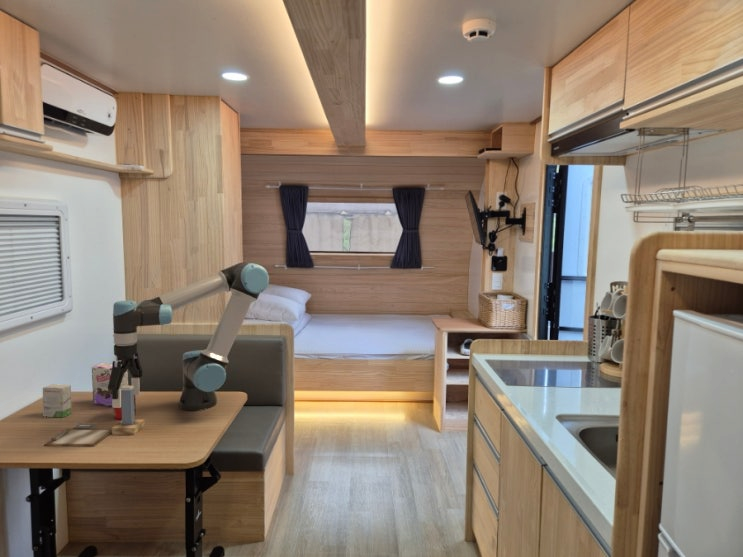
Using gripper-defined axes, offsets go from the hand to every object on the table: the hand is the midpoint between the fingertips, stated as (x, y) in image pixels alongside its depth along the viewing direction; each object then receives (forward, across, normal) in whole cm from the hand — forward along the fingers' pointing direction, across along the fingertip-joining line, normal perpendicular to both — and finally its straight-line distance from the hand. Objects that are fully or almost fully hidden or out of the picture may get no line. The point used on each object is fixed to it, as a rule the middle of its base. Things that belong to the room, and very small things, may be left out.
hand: (126, 400), depth 173 cm
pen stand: (+11, 0, 0) cm, 11 cm away
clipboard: (+11, +7, -13) cm, 19 cm away
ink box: (+12, -14, -34) cm, 39 cm away
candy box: (+12, -27, -20) cm, 36 cm away
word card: (+11, -3, -18) cm, 21 cm away
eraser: (+11, 0, 0) cm, 11 cm away
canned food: (+11, -13, -8) cm, 19 cm away
